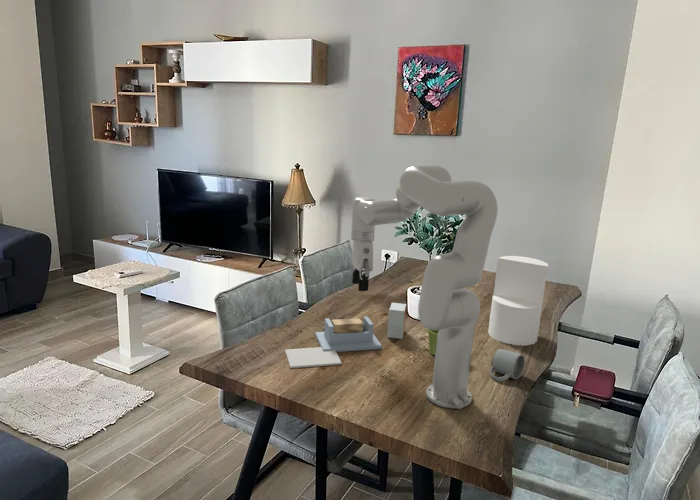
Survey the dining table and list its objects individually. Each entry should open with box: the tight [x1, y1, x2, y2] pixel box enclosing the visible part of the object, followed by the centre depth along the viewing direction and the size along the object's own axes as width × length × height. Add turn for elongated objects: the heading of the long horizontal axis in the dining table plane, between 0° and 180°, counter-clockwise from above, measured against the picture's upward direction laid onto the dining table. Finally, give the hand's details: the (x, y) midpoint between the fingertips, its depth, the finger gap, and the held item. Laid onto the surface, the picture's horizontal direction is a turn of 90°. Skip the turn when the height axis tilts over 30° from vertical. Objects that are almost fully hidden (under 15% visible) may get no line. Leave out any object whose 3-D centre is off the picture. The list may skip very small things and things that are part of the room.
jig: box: [314, 315, 383, 353], centre depth 175 cm, size 20×14×8 cm
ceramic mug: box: [489, 348, 526, 382], centre depth 157 cm, size 11×8×8 cm
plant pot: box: [425, 327, 439, 356], centre depth 170 cm, size 9×9×9 cm
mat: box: [284, 346, 342, 369], centre depth 163 cm, size 12×16×1 cm
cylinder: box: [488, 255, 549, 346], centre depth 185 cm, size 17×17×28 cm
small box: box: [386, 302, 407, 340], centre depth 183 cm, size 8×6×10 cm
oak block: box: [330, 317, 363, 334], centre depth 175 cm, size 10×4×4 cm, turn 105°
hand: (360, 286), depth 172 cm, fingers open, 7 cm apart
